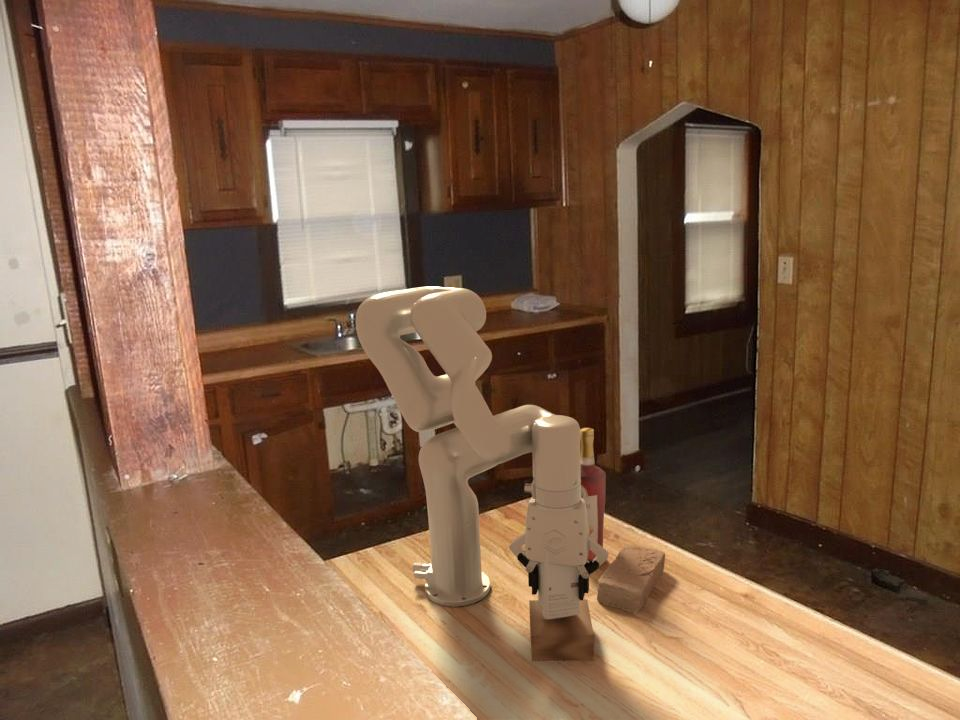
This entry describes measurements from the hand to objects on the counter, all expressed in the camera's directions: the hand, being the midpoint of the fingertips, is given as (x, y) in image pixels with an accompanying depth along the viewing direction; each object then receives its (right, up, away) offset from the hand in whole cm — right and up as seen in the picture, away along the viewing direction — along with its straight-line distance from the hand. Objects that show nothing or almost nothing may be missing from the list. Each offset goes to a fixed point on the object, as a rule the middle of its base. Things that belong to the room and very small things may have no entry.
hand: (558, 592), depth 115 cm
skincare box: (0, -3, +1) cm, 3 cm away
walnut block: (+1, -9, +2) cm, 9 cm away
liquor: (+9, -3, +28) cm, 29 cm away
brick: (+16, -5, +18) cm, 24 cm away
